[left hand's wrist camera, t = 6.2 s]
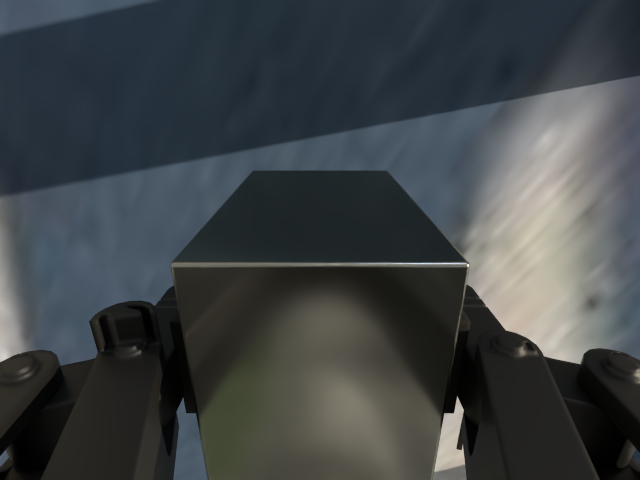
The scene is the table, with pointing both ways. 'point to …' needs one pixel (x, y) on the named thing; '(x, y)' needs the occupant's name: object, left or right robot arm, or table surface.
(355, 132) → the table surface
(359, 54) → the table surface
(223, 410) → the bar
